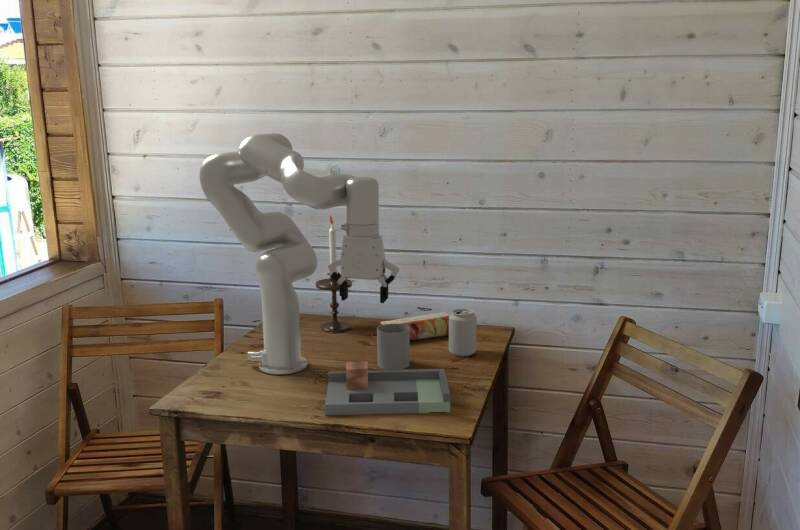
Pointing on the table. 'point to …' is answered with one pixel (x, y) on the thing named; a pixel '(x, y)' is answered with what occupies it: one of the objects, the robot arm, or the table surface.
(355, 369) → the block
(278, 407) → the table surface
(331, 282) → the candlestick
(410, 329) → the snack package
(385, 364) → the cup
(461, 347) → the can
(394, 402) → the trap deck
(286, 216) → the robot arm
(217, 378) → the table surface
